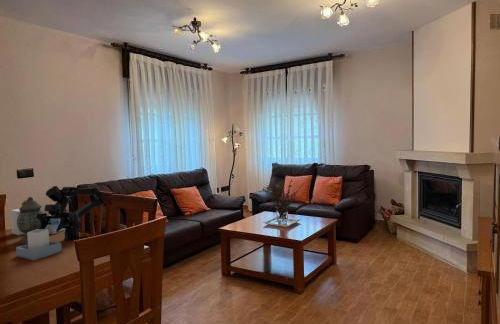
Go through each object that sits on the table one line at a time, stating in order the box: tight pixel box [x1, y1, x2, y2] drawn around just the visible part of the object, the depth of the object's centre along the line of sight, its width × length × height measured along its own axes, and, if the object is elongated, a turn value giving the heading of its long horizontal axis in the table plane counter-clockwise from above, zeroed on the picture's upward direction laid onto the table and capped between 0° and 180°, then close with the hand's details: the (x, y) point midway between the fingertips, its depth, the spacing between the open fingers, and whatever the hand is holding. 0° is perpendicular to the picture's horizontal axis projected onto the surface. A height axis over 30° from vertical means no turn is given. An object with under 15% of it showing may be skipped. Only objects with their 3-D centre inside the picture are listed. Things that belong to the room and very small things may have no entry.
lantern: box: [17, 196, 44, 244], centre depth 189 cm, size 14×14×25 cm
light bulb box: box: [45, 219, 65, 235], centre depth 206 cm, size 11×7×11 cm, turn 168°
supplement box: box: [10, 208, 25, 236], centre depth 205 cm, size 9×9×15 cm
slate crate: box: [15, 240, 63, 262], centre depth 164 cm, size 14×14×4 cm
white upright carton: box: [27, 229, 50, 251], centre depth 164 cm, size 6×6×11 cm
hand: (49, 231), depth 172 cm, fingers open, 9 cm apart
